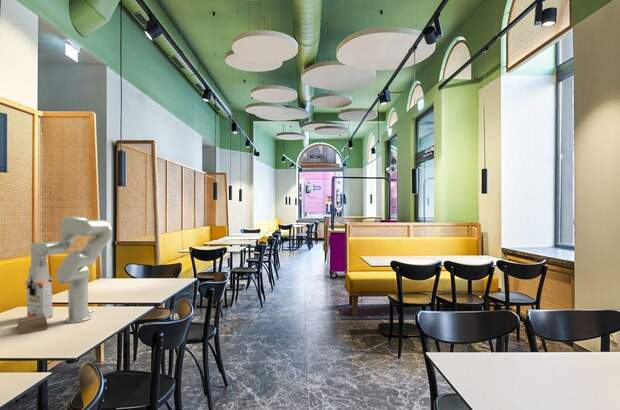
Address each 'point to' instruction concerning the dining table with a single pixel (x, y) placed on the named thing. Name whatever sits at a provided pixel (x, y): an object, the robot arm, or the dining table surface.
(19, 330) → the walnut block
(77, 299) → the robot arm
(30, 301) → the cracker box
